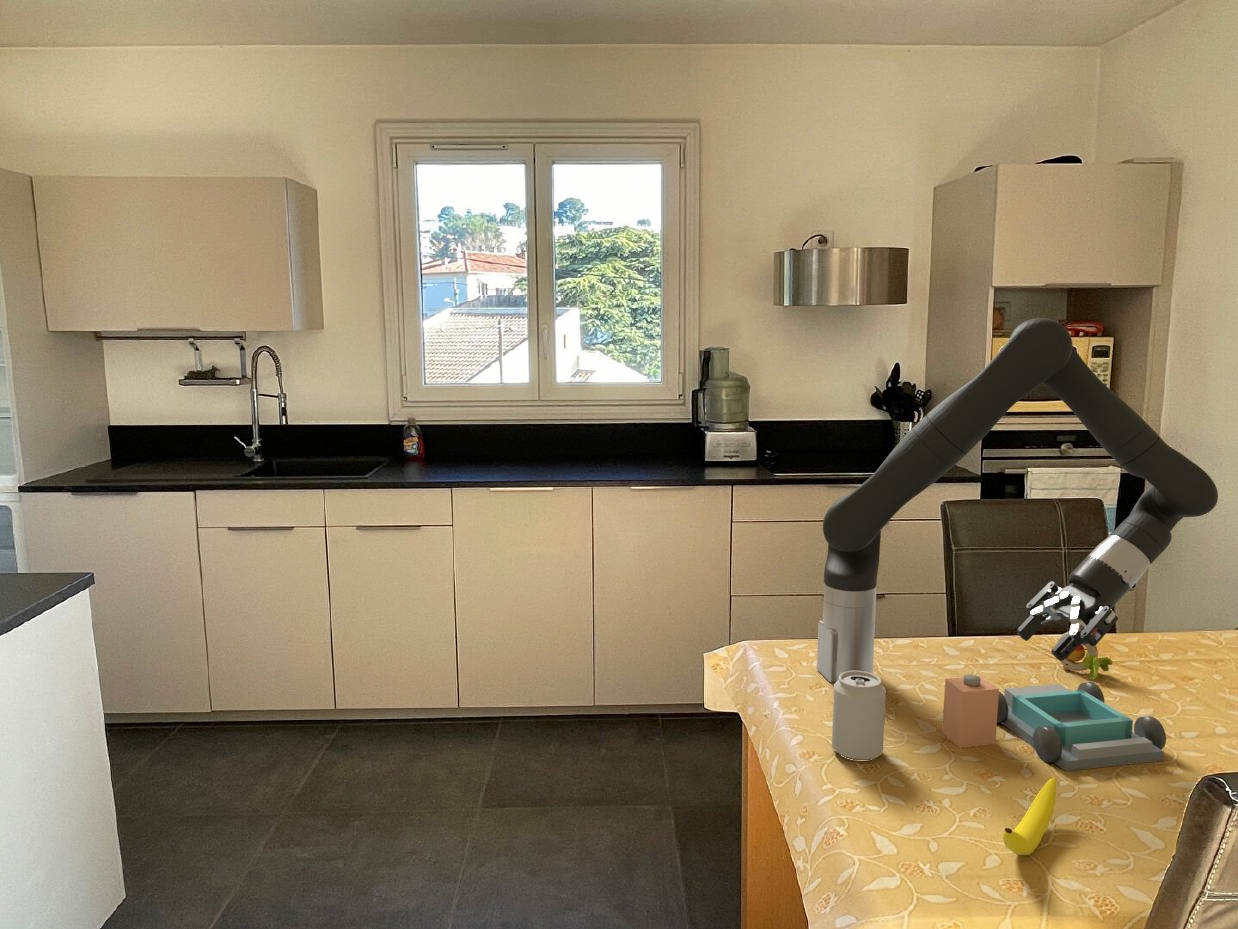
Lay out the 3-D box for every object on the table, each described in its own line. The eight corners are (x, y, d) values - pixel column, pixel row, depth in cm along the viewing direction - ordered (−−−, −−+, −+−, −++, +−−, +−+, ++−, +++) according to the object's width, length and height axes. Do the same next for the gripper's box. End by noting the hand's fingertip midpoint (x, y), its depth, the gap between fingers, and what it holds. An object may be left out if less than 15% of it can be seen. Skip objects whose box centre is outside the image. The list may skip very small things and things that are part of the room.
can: (884, 745, 138) (887, 671, 136) (881, 768, 131) (884, 690, 129) (834, 738, 140) (836, 665, 138) (829, 760, 133) (831, 684, 131)
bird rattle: (1060, 686, 164) (1111, 680, 157) (1039, 627, 165) (1089, 618, 159) (1072, 676, 168) (1122, 670, 162) (1051, 619, 170) (1100, 610, 163)
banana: (1064, 815, 118) (1067, 770, 117) (1017, 884, 104) (1021, 834, 103) (1040, 807, 120) (1043, 763, 119) (991, 874, 106) (995, 825, 105)
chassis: (1057, 772, 129) (1060, 739, 128) (979, 712, 149) (980, 683, 148) (1169, 760, 132) (1172, 728, 132) (1078, 703, 152) (1080, 675, 151)
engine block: (959, 747, 137) (963, 685, 135) (942, 732, 142) (945, 672, 140) (995, 744, 138) (999, 682, 136) (976, 729, 143) (980, 670, 141)
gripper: (1065, 544, 145) (996, 616, 145) (1129, 568, 132) (1053, 648, 131) (1091, 573, 147) (1023, 645, 147) (1157, 600, 133) (1082, 679, 133)
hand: (1037, 646), depth 139 cm, fingers open, 8 cm apart
